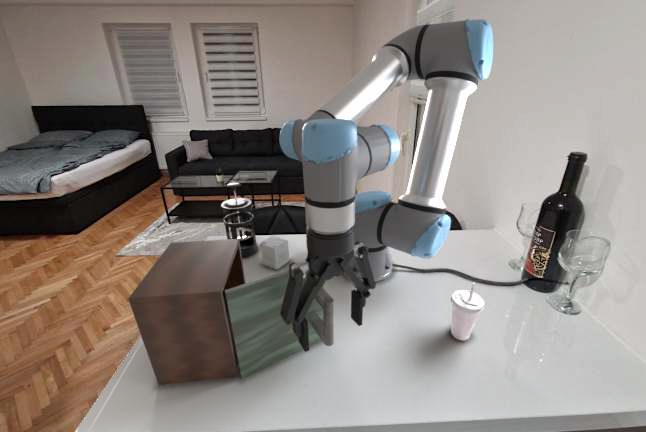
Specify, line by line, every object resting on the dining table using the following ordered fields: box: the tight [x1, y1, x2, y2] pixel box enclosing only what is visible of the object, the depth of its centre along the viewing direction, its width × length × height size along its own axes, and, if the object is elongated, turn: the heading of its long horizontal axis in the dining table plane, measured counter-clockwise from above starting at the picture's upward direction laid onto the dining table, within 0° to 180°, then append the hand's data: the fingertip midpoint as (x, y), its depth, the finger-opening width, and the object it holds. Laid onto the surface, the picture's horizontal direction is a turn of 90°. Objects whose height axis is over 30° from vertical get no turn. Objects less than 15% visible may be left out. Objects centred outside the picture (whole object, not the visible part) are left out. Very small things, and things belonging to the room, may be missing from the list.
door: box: [225, 269, 335, 379], centre depth 55 cm, size 8×18×20 cm, turn 122°
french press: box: [220, 182, 259, 259], centre depth 95 cm, size 12×9×23 cm
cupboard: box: [127, 239, 247, 386], centre depth 60 cm, size 14×18×20 cm
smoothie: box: [450, 282, 485, 342], centre depth 64 cm, size 6×6×14 cm
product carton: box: [259, 235, 291, 271], centre depth 91 cm, size 6×6×7 cm
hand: (331, 332), depth 56 cm, fingers open, 11 cm apart
